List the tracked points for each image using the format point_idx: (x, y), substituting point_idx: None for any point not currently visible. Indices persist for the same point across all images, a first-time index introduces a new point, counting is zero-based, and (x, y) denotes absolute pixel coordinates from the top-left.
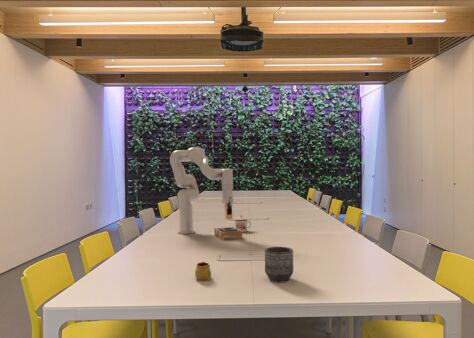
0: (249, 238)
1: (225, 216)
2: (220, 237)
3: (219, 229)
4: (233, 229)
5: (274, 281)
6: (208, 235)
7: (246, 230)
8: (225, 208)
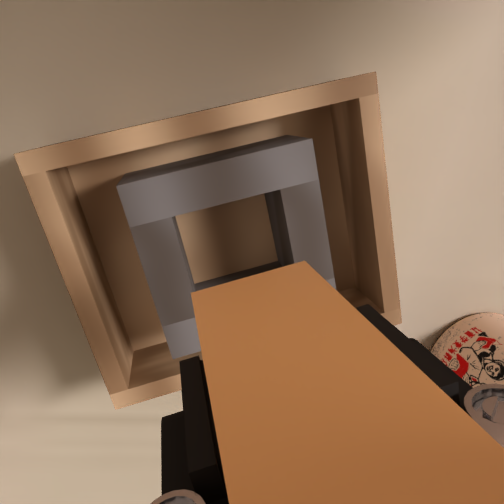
0: (107, 419)
1: (276, 289)
2: (110, 131)
3: (300, 139)
4: (171, 318)
5: None
6: (370, 3)
7: None
8: (322, 409)
